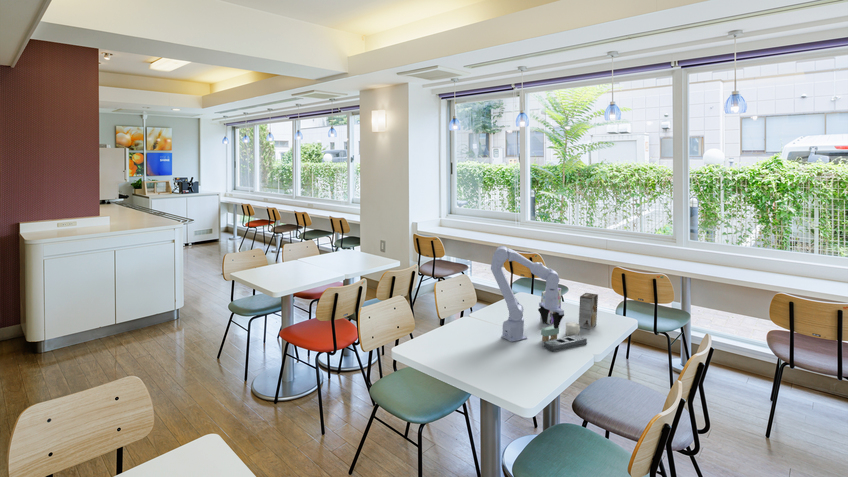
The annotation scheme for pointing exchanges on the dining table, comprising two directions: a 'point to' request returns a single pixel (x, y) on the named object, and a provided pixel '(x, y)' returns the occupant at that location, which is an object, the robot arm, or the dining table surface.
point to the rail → (564, 343)
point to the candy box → (550, 317)
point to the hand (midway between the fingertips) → (550, 325)
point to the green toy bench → (549, 333)
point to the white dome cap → (572, 329)
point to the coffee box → (588, 310)
